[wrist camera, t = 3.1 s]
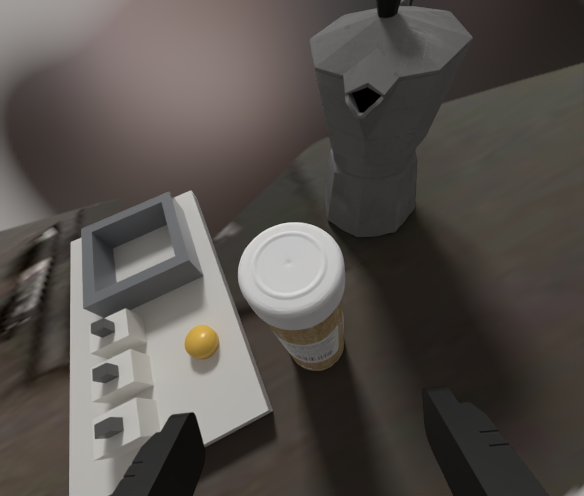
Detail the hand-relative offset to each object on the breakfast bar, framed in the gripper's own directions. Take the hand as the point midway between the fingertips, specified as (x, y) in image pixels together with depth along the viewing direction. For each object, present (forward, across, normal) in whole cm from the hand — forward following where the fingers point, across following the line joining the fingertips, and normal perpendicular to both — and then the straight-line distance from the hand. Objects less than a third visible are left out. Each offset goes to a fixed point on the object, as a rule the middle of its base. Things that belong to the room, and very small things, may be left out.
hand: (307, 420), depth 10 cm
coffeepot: (+23, -8, -6) cm, 25 cm away
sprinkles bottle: (+12, 0, +5) cm, 13 cm away
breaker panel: (+15, +14, +1) cm, 21 cm away
